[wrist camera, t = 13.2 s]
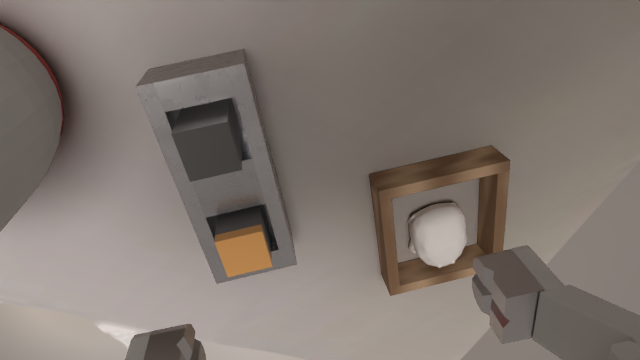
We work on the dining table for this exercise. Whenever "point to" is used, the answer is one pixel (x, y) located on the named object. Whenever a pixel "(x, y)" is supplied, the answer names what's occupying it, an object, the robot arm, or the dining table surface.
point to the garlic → (438, 234)
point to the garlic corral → (430, 176)
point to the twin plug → (209, 139)
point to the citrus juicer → (25, 121)
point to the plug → (244, 240)
